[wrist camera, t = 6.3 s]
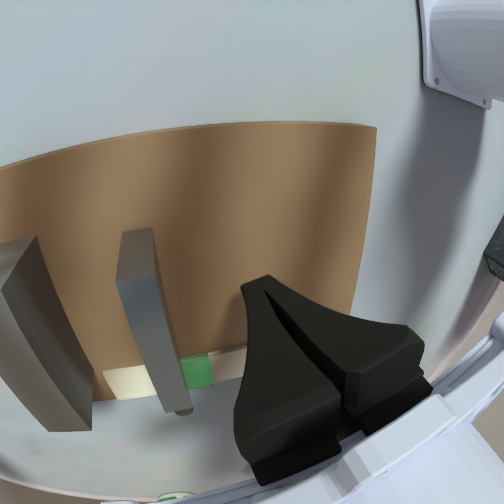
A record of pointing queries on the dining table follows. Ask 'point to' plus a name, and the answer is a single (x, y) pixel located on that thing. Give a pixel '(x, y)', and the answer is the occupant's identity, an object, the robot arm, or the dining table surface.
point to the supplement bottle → (173, 496)
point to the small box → (496, 252)
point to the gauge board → (170, 249)
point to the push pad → (151, 318)
